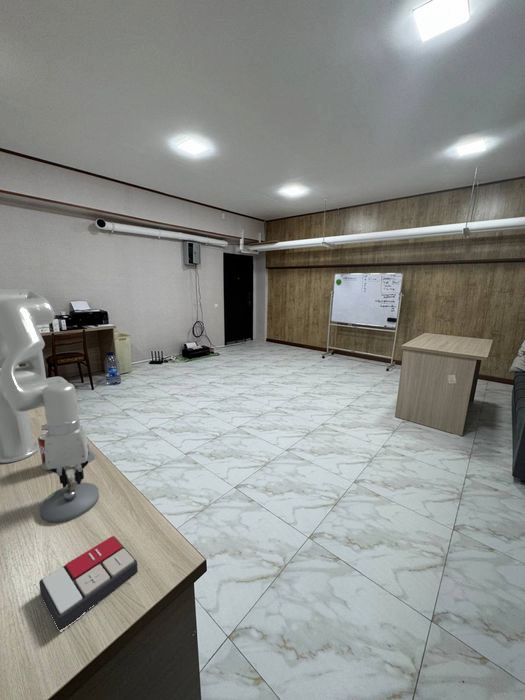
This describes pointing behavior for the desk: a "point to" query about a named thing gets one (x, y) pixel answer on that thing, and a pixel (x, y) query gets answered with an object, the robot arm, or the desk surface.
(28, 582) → the desk surface
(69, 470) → the light bulb
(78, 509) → the dial plate
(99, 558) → the calculator
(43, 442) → the soda can
